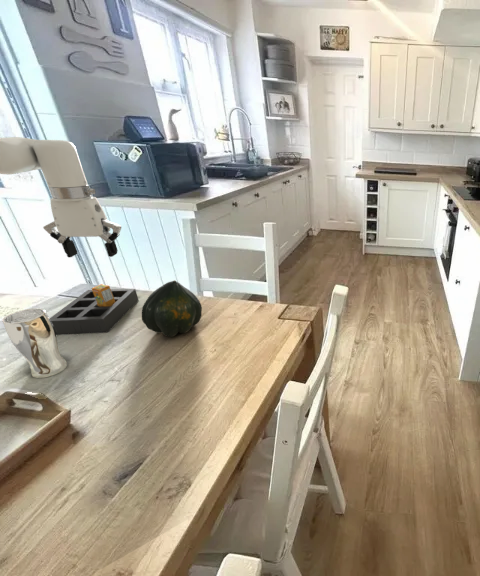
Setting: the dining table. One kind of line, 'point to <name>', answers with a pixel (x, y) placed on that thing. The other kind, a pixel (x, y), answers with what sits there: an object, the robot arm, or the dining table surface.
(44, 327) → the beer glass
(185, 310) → the squash
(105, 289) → the supplement box
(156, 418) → the dining table surface
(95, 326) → the holder
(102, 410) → the dining table surface
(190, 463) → the dining table surface
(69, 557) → the dining table surface
